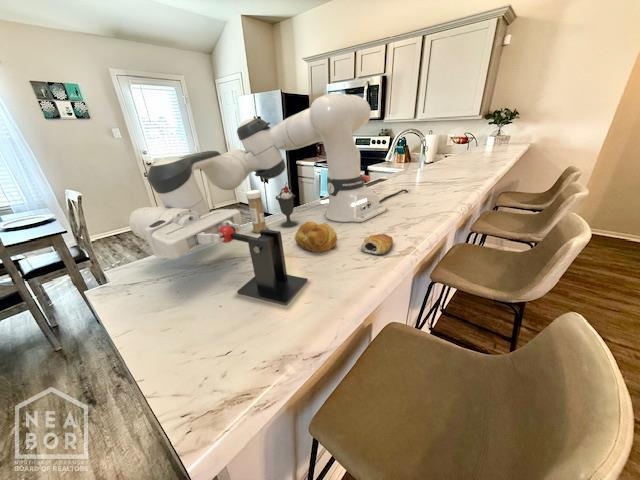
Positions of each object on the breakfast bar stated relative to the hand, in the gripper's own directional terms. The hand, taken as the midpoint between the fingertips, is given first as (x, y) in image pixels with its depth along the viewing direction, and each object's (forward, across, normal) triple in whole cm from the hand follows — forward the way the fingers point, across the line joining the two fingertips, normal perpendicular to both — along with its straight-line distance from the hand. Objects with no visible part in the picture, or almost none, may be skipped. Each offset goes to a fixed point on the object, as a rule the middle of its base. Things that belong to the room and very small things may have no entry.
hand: (229, 233), depth 55 cm
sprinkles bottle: (-15, -28, -12) cm, 34 cm away
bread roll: (+9, -22, -12) cm, 26 cm away
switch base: (+9, 0, -12) cm, 15 cm away
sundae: (-8, -35, -12) cm, 38 cm away
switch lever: (+4, 0, -2) cm, 4 cm away
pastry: (+25, -25, -12) cm, 38 cm away
